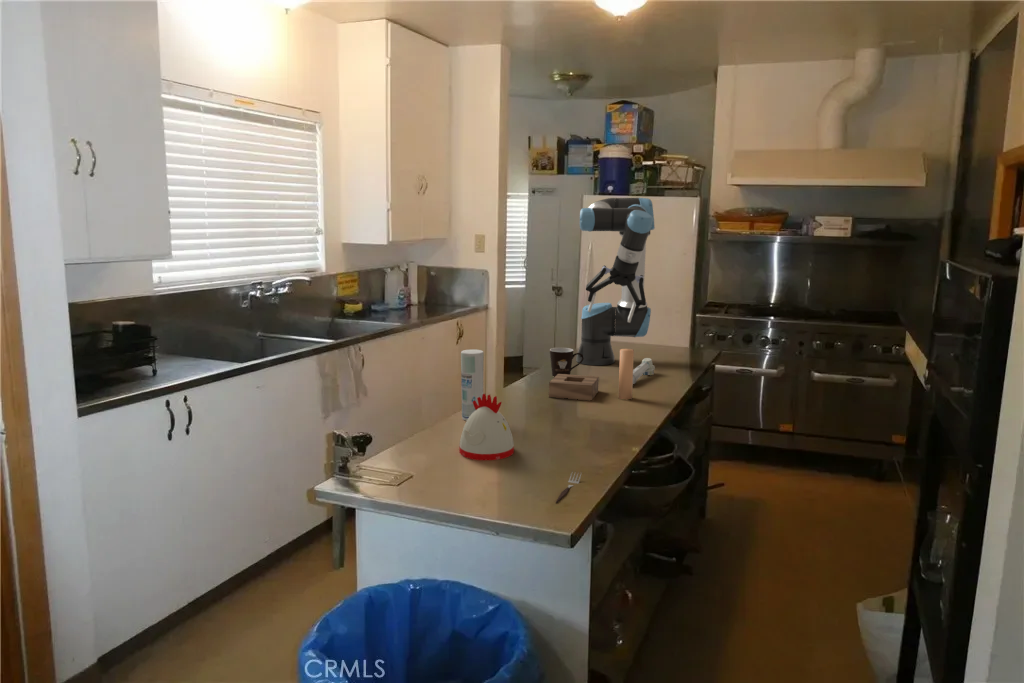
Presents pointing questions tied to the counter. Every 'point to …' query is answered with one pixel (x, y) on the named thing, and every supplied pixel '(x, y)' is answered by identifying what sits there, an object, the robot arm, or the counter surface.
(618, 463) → the counter surface
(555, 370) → the coffee mug
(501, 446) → the kitchen timer
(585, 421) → the counter surface
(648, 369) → the toothbrush head
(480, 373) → the spray can
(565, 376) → the socket block
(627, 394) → the peg
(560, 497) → the fork
